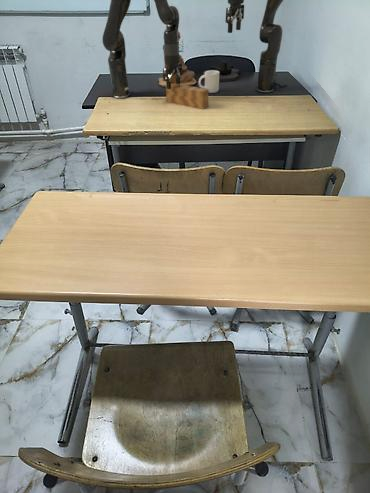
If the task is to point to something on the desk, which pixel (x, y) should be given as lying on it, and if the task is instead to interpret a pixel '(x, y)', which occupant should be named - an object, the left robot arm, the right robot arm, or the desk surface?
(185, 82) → the sculpture
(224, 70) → the abstract sculpture
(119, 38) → the left robot arm
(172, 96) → the bar
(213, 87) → the mug
